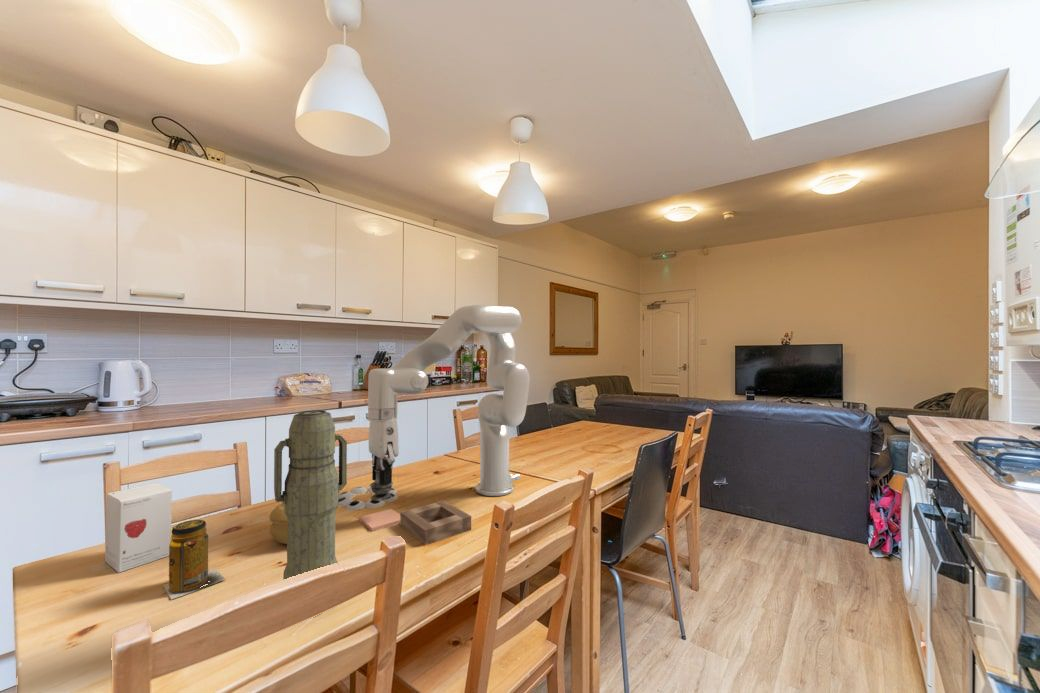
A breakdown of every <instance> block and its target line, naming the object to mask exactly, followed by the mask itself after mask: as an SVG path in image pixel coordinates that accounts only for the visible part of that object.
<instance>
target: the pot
mask: <svg viewBox="0 0 1040 693" xmlns="http://www.w3.org/2000/svg"><path fill="white" fill-rule="evenodd" d="M269 521H271V524H270V526H269V534H270V535H271V537H272V538H273V539H274V540H275V541H276V542H277V543H280V544H284V545H287V516H286V514H285V512H284V503H283V502H280V503H279V504H278V505H277V506H275V508H273V510H272V511H271V512H270V514H269Z"/></svg>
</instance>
